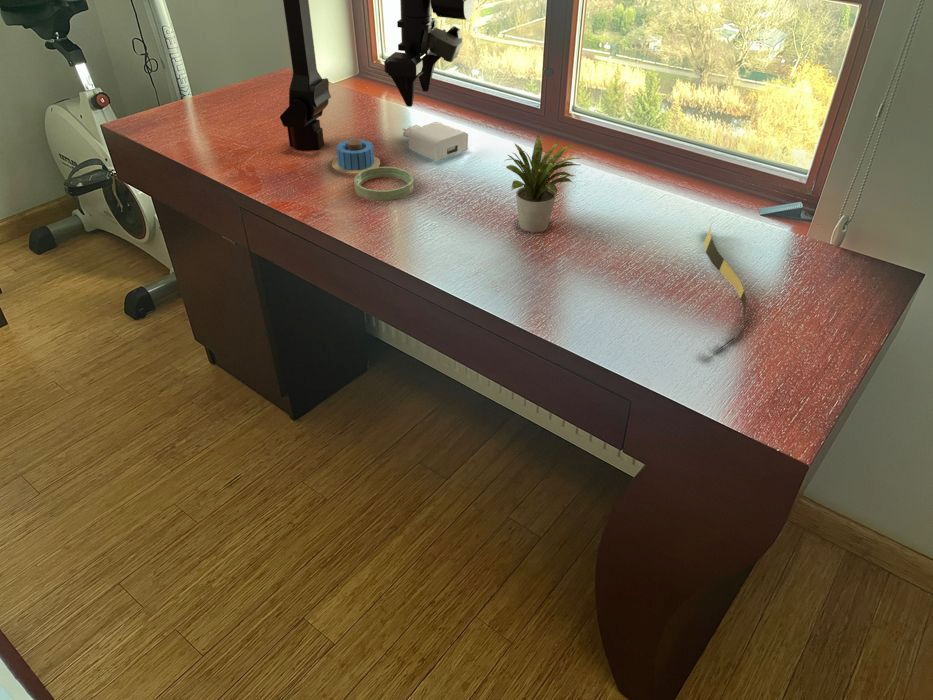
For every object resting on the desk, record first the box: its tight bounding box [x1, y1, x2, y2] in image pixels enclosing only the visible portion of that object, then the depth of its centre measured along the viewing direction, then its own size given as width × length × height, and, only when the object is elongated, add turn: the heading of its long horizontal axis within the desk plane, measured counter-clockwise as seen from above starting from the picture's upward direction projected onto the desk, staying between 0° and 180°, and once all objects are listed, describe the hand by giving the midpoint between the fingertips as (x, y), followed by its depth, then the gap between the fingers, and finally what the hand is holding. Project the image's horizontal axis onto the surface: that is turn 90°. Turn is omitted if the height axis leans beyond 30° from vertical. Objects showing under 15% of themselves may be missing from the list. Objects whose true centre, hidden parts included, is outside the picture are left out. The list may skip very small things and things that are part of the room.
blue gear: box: [335, 139, 375, 170], centre depth 153 cm, size 7×7×4 cm
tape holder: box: [331, 139, 381, 174], centre depth 153 cm, size 10×10×5 cm
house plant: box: [503, 134, 581, 233], centre depth 129 cm, size 14×14×16 cm
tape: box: [703, 220, 748, 358], centre depth 116 cm, size 6×38×4 cm, turn 166°
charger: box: [402, 121, 469, 162], centre depth 161 cm, size 5×9×15 cm
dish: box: [353, 166, 415, 202], centre depth 145 cm, size 11×11×3 cm
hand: (417, 98), depth 147 cm, fingers open, 9 cm apart
